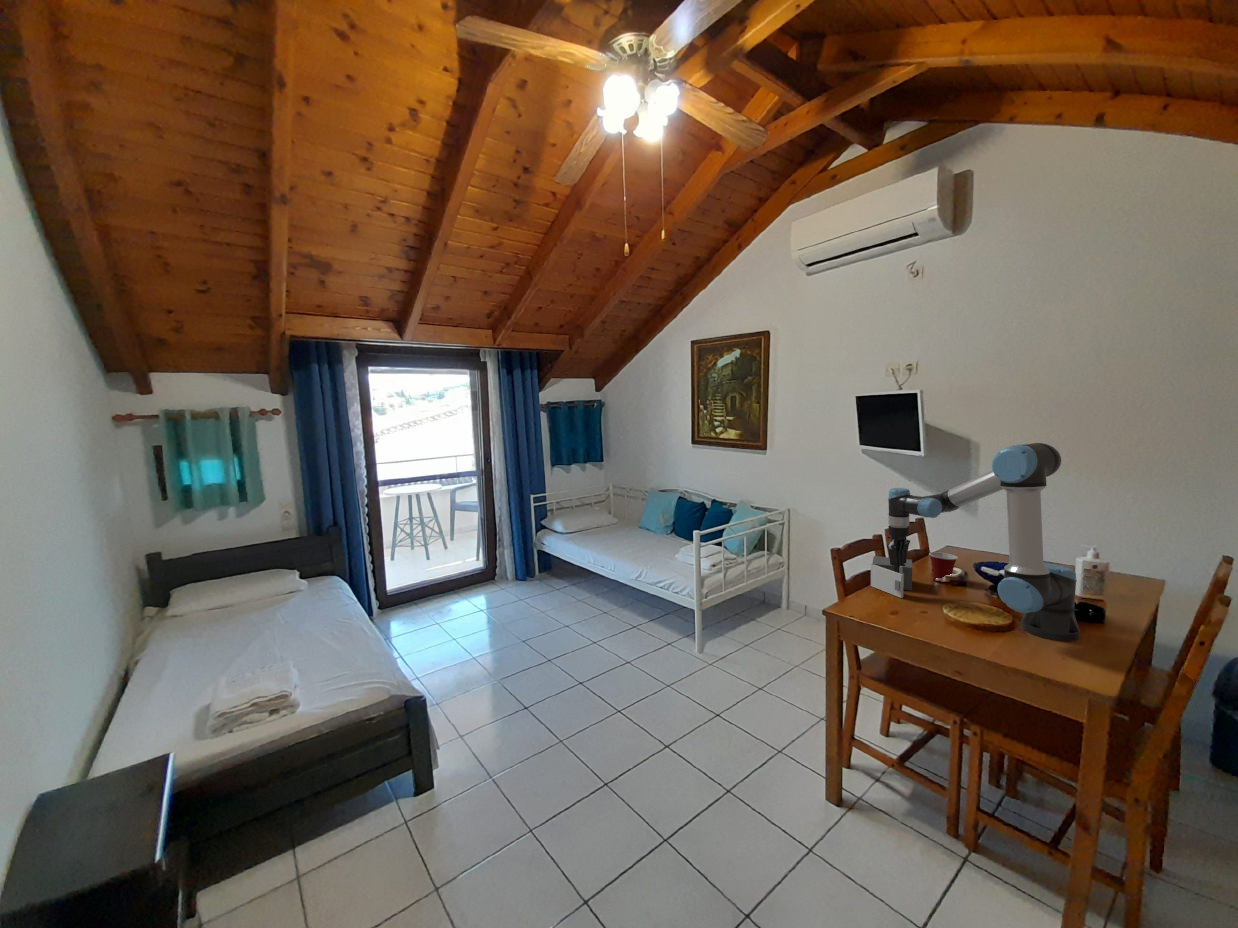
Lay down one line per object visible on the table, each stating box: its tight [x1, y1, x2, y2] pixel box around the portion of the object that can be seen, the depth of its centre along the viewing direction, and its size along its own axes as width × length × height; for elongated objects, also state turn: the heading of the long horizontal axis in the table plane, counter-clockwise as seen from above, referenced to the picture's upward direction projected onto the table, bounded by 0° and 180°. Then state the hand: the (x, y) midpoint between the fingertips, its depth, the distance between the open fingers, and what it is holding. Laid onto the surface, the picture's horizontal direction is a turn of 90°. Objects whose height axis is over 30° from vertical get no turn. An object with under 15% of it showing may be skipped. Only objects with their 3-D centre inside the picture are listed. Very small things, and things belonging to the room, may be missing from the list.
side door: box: [870, 563, 904, 599], centre depth 209 cm, size 2×16×10 cm, turn 20°
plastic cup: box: [928, 551, 959, 579], centre depth 218 cm, size 11×11×12 cm
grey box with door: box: [871, 555, 913, 592], centre depth 218 cm, size 14×15×10 cm
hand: (898, 580), depth 206 cm, fingers closed
